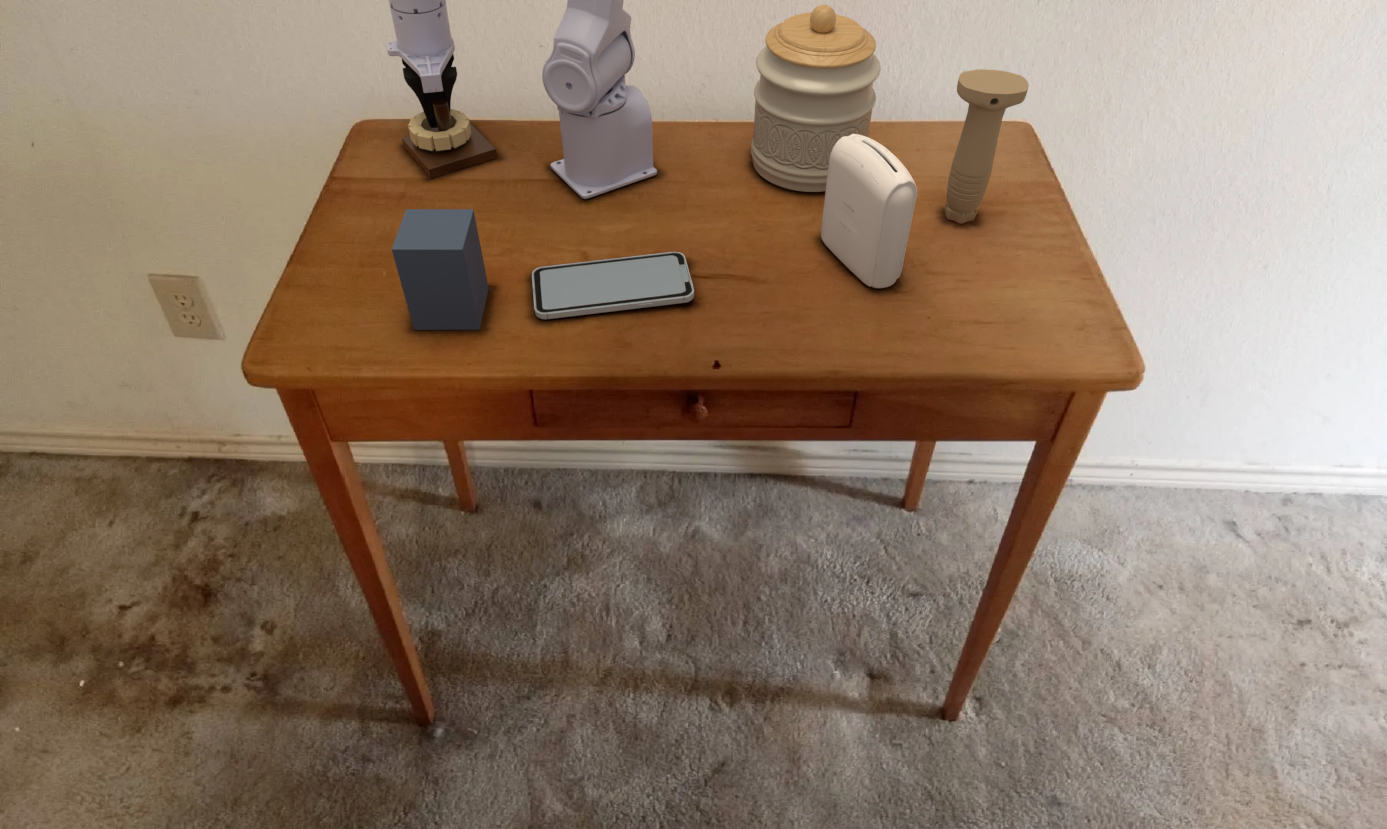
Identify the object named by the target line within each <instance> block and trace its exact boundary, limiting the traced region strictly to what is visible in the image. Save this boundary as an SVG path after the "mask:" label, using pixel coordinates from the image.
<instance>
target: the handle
mask: <svg viewBox="0 0 1387 829" xmlns="http://www.w3.org/2000/svg"><path fill="white" fill-rule="evenodd" d="M1029 84H1030V83H1029V81H1028V80H1027V79H1026V78H1025V77H1024V76H1022V75H1021V74H1017V73H1013V72H1010V71H1005V70H998V69H987V68H986V69H973V70H966V71H962V72H961V73H960V74H959V76H958V80H957V84H956V93H957V95H958V97H959V98H960V99H962V100H963V101H964V102H966V103H967V104H968V107H967V113H966V116H965V119H964V123H963V126H962V130H961V133H960V137H959V141H958V143H957V146H956V150H955V153H954V156H953V159H952V162H951V166H950V171H949V175H948V180H947V187H946V198H945V199H946V200H945V203H944V212H945V218H946V219H947V220H950V221H953V222H956V223H957V224H958V225H964V224H965V223H967V222H973V221H974V220H975V218H976V216H977V214H978V208H979V207H980V204H981V203H982V201H983V198H984V196H985V193H986V191H987V188H988V185H989V182H990V177H991V174H992V171H993V165H994V161H995V157H996V156H995V155H996V150H997V147H998V141H999V140H998V139H999V136H1000V132H1001V128H1002V127H1001V126H1002V122H1003V118H1004V115H1005V113H1006V110H1007V109H1008V108H1010V107H1013V106H1018V105H1020V104H1022V103H1023V102H1024V101H1025V100H1026V97H1027V94H1028V91H1029V87H1030V86H1029Z"/></svg>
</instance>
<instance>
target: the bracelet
mask: <svg viewBox="0 0 1387 829" xmlns="http://www.w3.org/2000/svg"><path fill="white" fill-rule="evenodd" d="M450 117H451V123H452V128H451V129H449V130H447V131H441V132H432V131H429V130H431V129H434V128H431V126H430V125H429V123H428V121H427V118H426V116H425V113H424V111H421V112H420V113H418V114H417V113H416V114H415V115H414V116H413V117H411V118H410V120H409V123H408V124H407V127H408V128H407V129H408V133H409V136H410V138H411V141H412V142H413V143H414V144H415V145H416V146H419V148H421V149H426V150H430V151H433V150H434V149H436V151H441V150H450V149H451V146H452V147H454V148H456V147H458V146H460V145H462V144H464V143H466V140H469V137H470V135H471V128H470V123H471V122H470V118H469V117H468V116H467V115H466V114H465V113H464V112H461V110H458V109H452V108H450Z"/></svg>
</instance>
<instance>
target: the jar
mask: <svg viewBox="0 0 1387 829" xmlns="http://www.w3.org/2000/svg"><path fill="white" fill-rule="evenodd" d="M764 42H765V46H764V47H763V48H762V49H761V50H760V51H759V52H758V53H757V55H756V58H755V66H756V69H757V71H758V73H759V79H758V81H757V82H756V84H755V86H754V91H753V96H754V100H755V101H754V118H753V132H752V134H753V135H752V137H751V140H750V154H751V157H752V165H753V167H754V169H755V171H756V172H757V173H758V174H759V176H761V178H763V179H765V180H766V181H768V182H769V183H771V184H773V185H775V186H778V187H780V188H783V189H787V190H791V191H797V192H803V193H804V192H805V193H821V192H822V193H823V192H826V184H827V175H828V168H829V160H830V154H831V152H832V149H833V147H834V146H835V144H836V143H837V141H838V140H839V139H840V138H842V137H843V136H850V135H851V134H858V135H863V136H866V137H868V138H869V133H870V129H871V128H870V126H871V121H872V115H873V109H874V107H875V105H876V102H877V94H876V92H875V89H874V83H875V81H876V80H877V79H878V78H879V76H880V73H881V69H882V68H881V62H880V60H879V59H878V57H877V55H875V51H876V48H877V42H876V39H875V37H874V36H873V35H872V33H871V32H869V30H867V29H865V28H864V27H863V26H862V25H861V24H860V23H858V22H857V21H856V20H854V19H852V18H850V17H848V16H844V15H841V14H838V13H837V14H836V12H835V10H834V8H833V7H832V6H830V5H828V4H819V5H817V6H816V7H815V8H814V9H813V10H812V11H811V12H803V13H798V14H795V15H792V16H790V17H787V18H786V19H784V21H782V22H780V23H778V24H776V25H774V26H773V27H771V28H770V29H769V30H768V31H767V33H766V35H765V40H764Z"/></svg>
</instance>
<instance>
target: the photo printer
mask: <svg viewBox="0 0 1387 829" xmlns="http://www.w3.org/2000/svg"><path fill="white" fill-rule="evenodd" d="M917 197H918V188H917V184H916V181H915V180H914V179H913V176H912V175H911V173H910V172H909V170H908V169H907V167H906V166H905V165H904V164H903V163H902V161H901V160H900V159H899V158H898V157H897V156H896V155H895V154H894V153H892V151H890V150H889V149H888V148H887V147H886V146H884V145H883V144H882V143H880V142H878V141H877V140H874V139H873V138H871V137H869V136H868V137H866V136H863V135H858V134H851V135H850V136H843V137H842V138H840V139H839V140H838V141H837V143H836V144H835V146H834V147H833V149H832V152H831V154H830V160H829V168H828V175H827V184H826V191H824V202H823V210H822V218H821V227H820V228H821V229H820V238H821V240H822V243H823V244H824V245H825V246H826V247H827V248H828V249H829V251H830V252H831V253H832V254H833V255H834V256H835V257H836V258H837V259H838V260H839V261H840V262H841V263H842V264H843V266H845V267H846V269H848V270H849V271H850V272H851V273H853V275H854V276H855V277H857V278H858V279H859V280H860V281H861V282H862V283H863V284H864V285H866V286H868V287H869V288H871V287H872V288H873V289H884V288H885V289H886V288H889V287H891V286H892V285H894V284H895V283H896V282H897V280H898V279H899V278H901V275H902V272H903V267H904V262H905V256H906V251H907V246H908V241H909V236H910V231H911V228H912V227H911V226H912V223H913V222H912V221H913V218H914V212H915V207H916V202H917Z"/></svg>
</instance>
